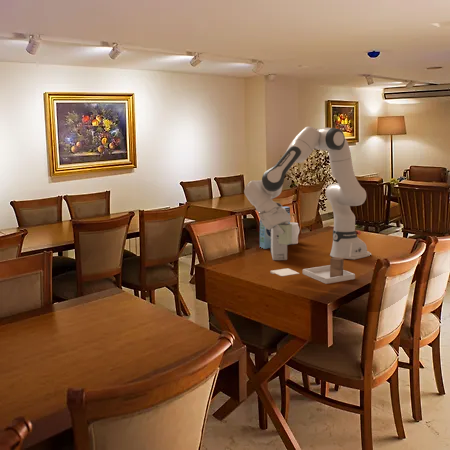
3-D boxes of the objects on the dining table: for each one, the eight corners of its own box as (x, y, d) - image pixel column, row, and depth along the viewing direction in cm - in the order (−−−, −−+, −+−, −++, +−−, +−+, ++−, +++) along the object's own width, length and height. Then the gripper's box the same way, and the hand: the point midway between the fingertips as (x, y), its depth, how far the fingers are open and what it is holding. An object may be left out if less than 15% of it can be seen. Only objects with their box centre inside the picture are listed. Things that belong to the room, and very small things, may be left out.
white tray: (330, 271, 244) (330, 265, 243) (354, 280, 228) (355, 274, 227) (302, 275, 237) (302, 269, 236) (326, 285, 221) (326, 278, 220)
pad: (288, 270, 246) (288, 268, 246) (299, 275, 237) (299, 273, 237) (270, 272, 242) (270, 270, 242) (281, 278, 233) (281, 275, 233)
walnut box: (333, 275, 233) (334, 256, 231) (343, 277, 230) (343, 258, 229) (329, 278, 229) (330, 258, 228) (339, 279, 227) (339, 260, 225)
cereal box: (287, 260, 265) (287, 213, 261) (272, 260, 266) (272, 213, 261) (284, 250, 287) (284, 207, 282) (270, 250, 287) (270, 207, 282)
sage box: (283, 241, 240) (283, 222, 238) (291, 242, 237) (291, 223, 236) (278, 243, 236) (278, 224, 235) (287, 244, 234) (287, 225, 232)
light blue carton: (284, 243, 305) (285, 206, 301) (290, 244, 301) (290, 207, 297) (259, 247, 295) (259, 209, 290) (264, 249, 290) (264, 210, 286)
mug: (294, 239, 315) (295, 221, 313) (304, 242, 308) (305, 222, 306) (281, 242, 308) (281, 223, 306) (291, 244, 301) (291, 225, 299)
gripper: (261, 208, 229) (280, 231, 225) (282, 203, 246) (300, 224, 242) (252, 217, 232) (271, 240, 229) (274, 211, 249) (291, 232, 245)
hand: (286, 232), depth 235 cm, fingers closed on sage box, 4 cm apart
